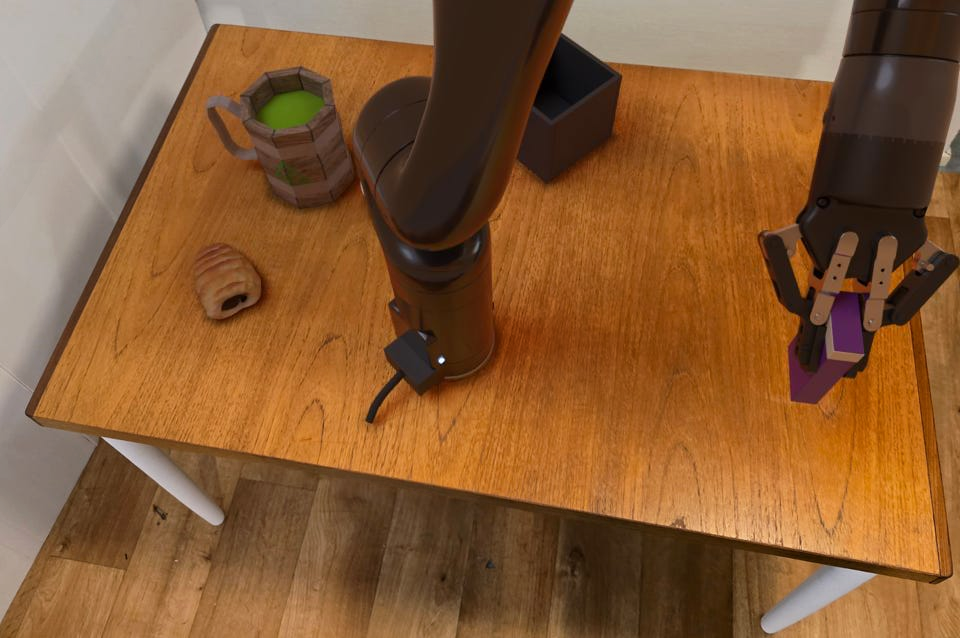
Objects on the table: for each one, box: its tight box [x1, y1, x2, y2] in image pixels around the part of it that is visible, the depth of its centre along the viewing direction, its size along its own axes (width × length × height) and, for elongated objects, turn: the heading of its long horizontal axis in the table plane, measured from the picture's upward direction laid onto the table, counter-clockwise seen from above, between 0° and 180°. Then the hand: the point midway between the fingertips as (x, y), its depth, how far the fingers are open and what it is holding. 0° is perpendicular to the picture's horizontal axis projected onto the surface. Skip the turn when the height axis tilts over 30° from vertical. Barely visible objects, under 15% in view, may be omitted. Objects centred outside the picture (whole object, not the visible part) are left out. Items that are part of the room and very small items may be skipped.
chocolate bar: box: [787, 290, 864, 405], centre depth 56 cm, size 2×5×9 cm, turn 171°
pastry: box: [192, 241, 262, 320], centre depth 82 cm, size 9×7×4 cm
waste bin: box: [516, 32, 623, 184], centre depth 89 cm, size 11×11×10 cm
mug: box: [205, 65, 356, 209], centre depth 86 cm, size 16×11×12 cm
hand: (826, 371), depth 55 cm, fingers closed on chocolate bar, 2 cm apart
